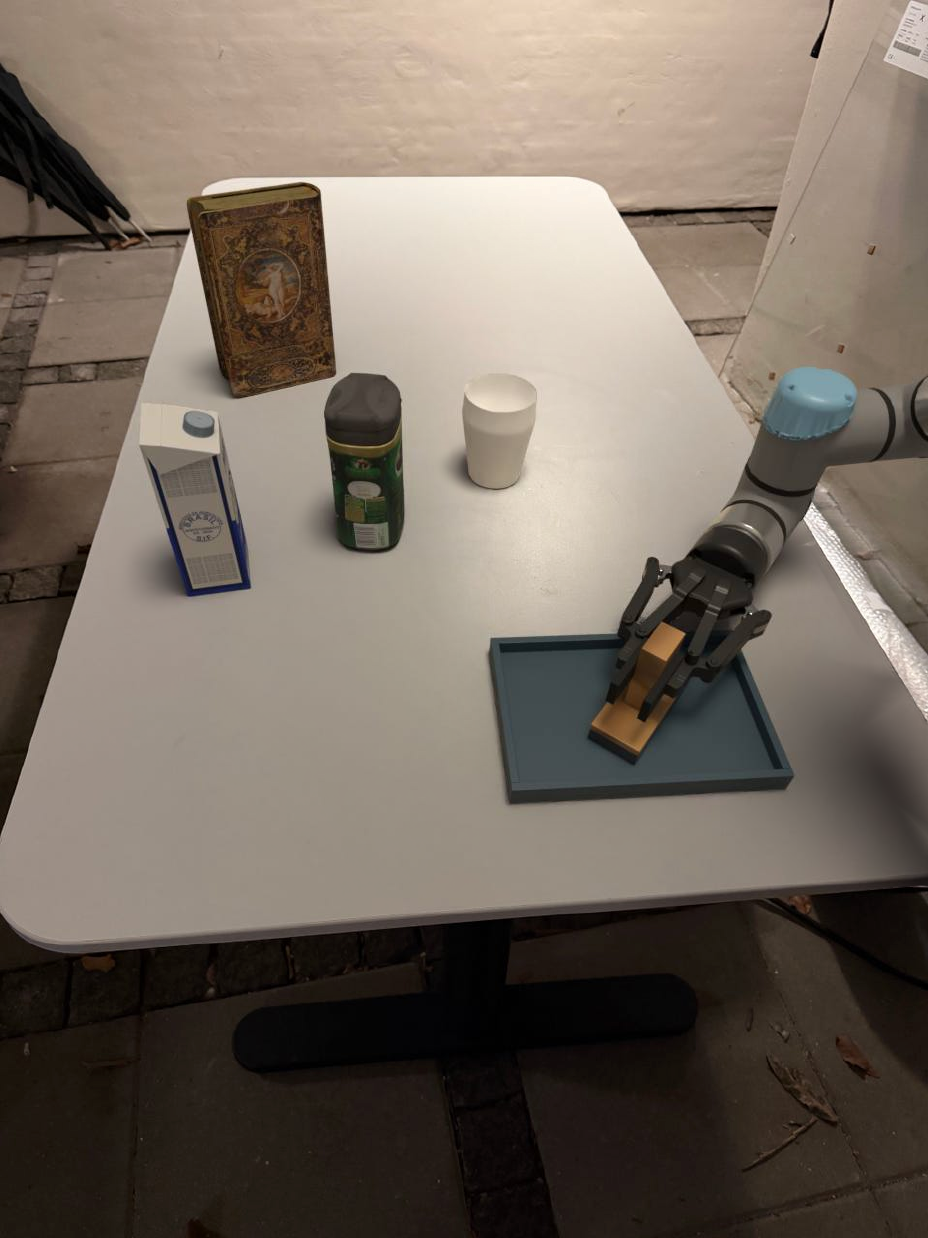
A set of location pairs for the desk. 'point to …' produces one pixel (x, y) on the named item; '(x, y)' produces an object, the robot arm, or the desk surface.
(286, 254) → the book
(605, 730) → the wooden block on base
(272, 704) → the desk surface
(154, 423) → the milk carton
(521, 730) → the tray
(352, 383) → the coffee jar
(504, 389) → the cup
